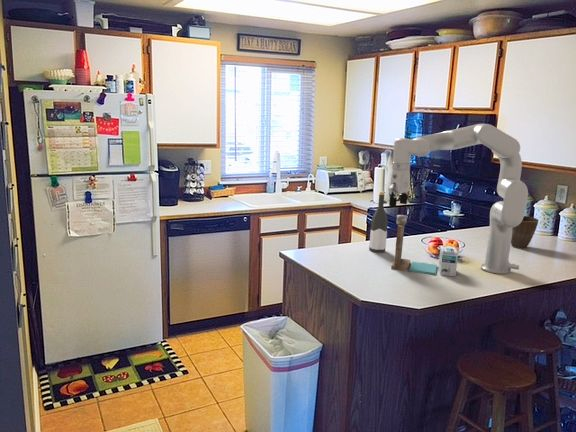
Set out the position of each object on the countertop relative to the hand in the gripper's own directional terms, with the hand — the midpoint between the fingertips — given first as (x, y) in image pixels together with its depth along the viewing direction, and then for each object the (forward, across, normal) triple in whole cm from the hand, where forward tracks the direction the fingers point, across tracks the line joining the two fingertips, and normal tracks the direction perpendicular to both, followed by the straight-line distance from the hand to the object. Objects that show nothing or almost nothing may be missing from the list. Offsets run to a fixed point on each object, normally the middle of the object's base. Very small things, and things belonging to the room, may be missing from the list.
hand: (398, 205), depth 221 cm
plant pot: (+29, +82, -31) cm, 92 cm away
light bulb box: (+28, +9, -22) cm, 37 cm away
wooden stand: (+28, +1, -3) cm, 28 cm away
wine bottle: (+28, +15, +17) cm, 36 cm away
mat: (+28, +5, -12) cm, 31 cm away
